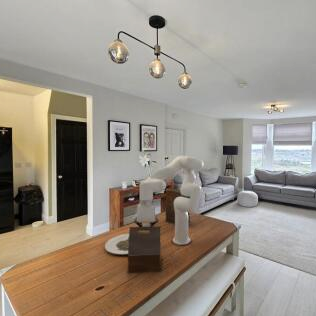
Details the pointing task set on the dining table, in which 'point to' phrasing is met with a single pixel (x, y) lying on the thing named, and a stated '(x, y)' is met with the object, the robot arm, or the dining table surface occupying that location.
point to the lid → (144, 240)
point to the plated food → (118, 244)
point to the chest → (144, 262)
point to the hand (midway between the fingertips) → (146, 232)
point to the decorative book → (170, 197)
